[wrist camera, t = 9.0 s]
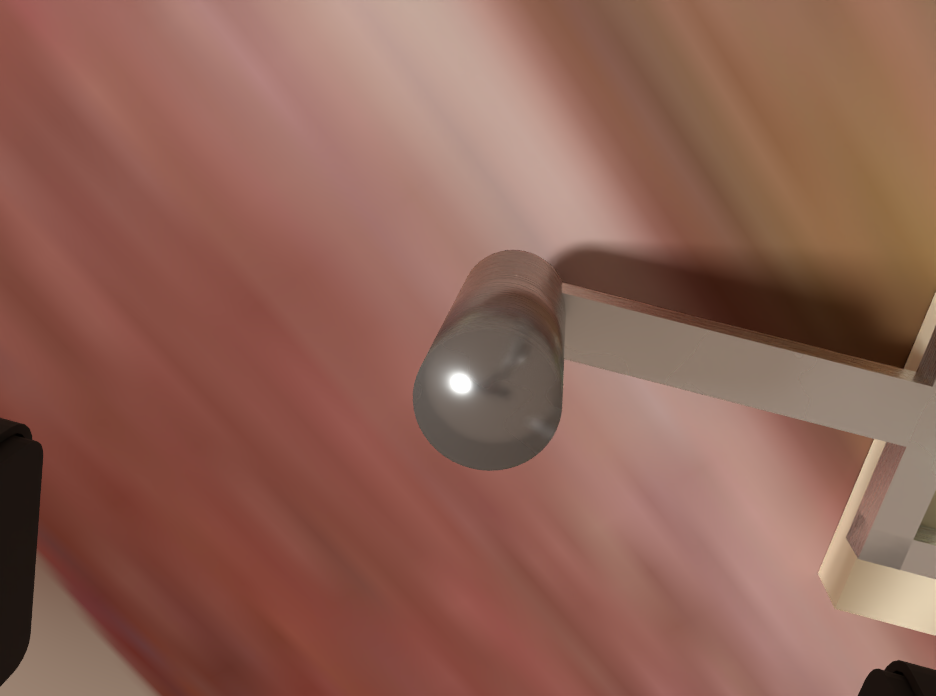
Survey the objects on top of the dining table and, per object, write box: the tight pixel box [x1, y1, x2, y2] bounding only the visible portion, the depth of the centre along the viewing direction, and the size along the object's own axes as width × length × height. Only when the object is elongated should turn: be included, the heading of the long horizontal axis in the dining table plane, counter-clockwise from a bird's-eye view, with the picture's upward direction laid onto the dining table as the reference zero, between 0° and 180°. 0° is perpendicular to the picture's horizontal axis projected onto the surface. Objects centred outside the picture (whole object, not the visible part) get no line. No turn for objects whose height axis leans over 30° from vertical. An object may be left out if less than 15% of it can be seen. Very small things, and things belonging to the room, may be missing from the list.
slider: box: [413, 250, 936, 579], centre depth 21 cm, size 22×9×8 cm, turn 77°
